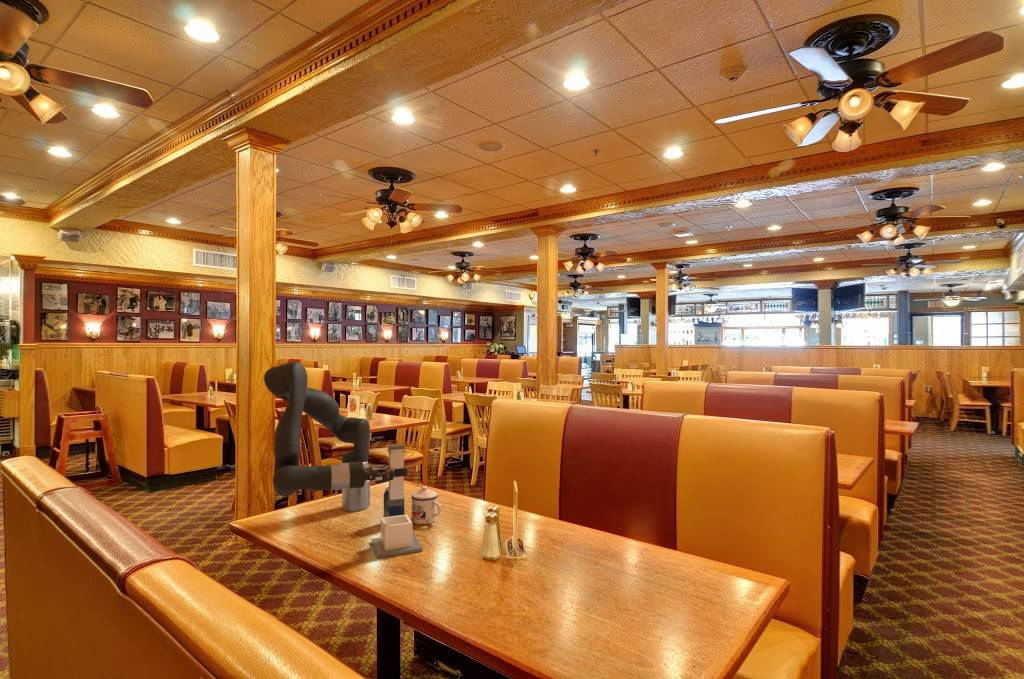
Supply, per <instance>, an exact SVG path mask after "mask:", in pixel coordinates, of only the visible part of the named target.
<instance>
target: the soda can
mask: <svg viewBox="0 0 1024 679" xmlns="http://www.w3.org/2000/svg"><path fill="white" fill-rule="evenodd" d="M388 497H389V486H388V487H386V488H385V491H384V493H383V517H391V516H399V515H405V504H404V505H401V506H392V507H389V505H388Z"/></svg>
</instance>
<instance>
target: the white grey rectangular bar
mask: <svg viewBox="0 0 1024 679" xmlns="http://www.w3.org/2000/svg"><path fill="white" fill-rule="evenodd" d="M405 447H406V445H405V444H404V443H397V444H388V445H387V452H388V465H389V469H404V466H405V465H404V464H405V452H406V448H405ZM389 475H390V474H389ZM389 475H388V476H389ZM404 478H405V476H402V477H395V478H394V480H390V481H388V487H389V497H388V505H389V507H392V506H401V505H404V506H405V489H404V488H405V479H404Z"/></svg>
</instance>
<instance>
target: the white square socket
mask: <svg viewBox="0 0 1024 679" xmlns="http://www.w3.org/2000/svg"><path fill="white" fill-rule="evenodd" d="M413 524H414V522H413V521H412V519H411V518H410V517H409V515H408V514H404V515H399V516H391V517H384V516H383V517H380V537H375V538H371V544H372V547H373V548H374V551H375V554H376V556H377V559H381V558H386V557H387V558H388V557H394V556H401V555H407V554H414V553H420V552H423V547H422V545H421V543H420V542H419V540H418V538H417V537H416V535H415V534H414V531H413V526H414V525H413Z"/></svg>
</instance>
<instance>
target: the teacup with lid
mask: <svg viewBox="0 0 1024 679" xmlns="http://www.w3.org/2000/svg"><path fill="white" fill-rule="evenodd" d="M438 496H439V494H438V493H437V491H434V490H431V489H429V488H428V486H427V485H424V486H421V489H419V490H418V491H415V492H413V493H412V494H411V497H410V498H411V521H412V523H413V524H417V525H430V524H433V523H435V522H437V520H438V516H440V515H441V512H442V505H441V503H440V502H438Z"/></svg>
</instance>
